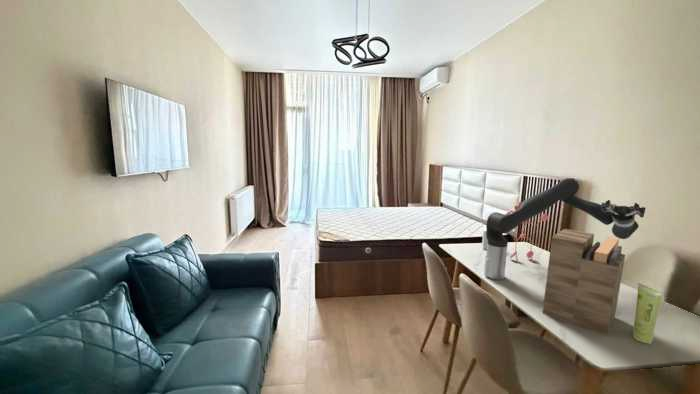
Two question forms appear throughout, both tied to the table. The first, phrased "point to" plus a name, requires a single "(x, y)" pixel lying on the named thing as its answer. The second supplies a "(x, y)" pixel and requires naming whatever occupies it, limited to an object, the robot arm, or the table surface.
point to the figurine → (530, 253)
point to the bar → (606, 250)
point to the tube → (646, 313)
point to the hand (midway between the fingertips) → (621, 203)
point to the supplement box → (484, 239)
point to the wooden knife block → (582, 282)
